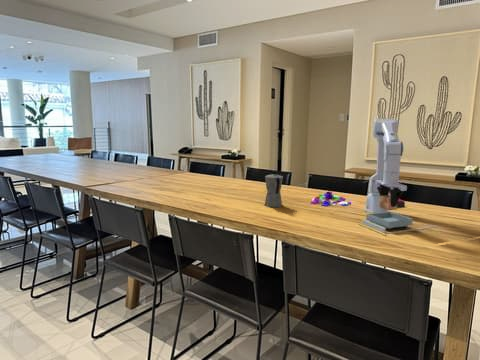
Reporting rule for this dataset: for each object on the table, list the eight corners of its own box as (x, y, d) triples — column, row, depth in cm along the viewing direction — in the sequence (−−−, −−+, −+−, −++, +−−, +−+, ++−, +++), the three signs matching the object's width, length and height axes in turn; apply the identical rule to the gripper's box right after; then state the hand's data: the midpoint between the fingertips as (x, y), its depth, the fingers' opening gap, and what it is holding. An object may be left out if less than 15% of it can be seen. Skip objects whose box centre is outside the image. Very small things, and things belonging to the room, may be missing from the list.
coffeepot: (261, 202, 182) (262, 169, 179) (278, 202, 184) (279, 168, 180) (268, 209, 167) (269, 173, 164) (287, 209, 169) (288, 173, 165)
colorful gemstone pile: (338, 210, 170) (338, 201, 169) (303, 203, 184) (303, 195, 183) (359, 201, 188) (360, 193, 187) (326, 196, 202) (326, 188, 201)
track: (358, 224, 144) (358, 218, 144) (408, 218, 154) (408, 212, 154) (386, 236, 130) (387, 229, 129) (440, 228, 140) (440, 222, 139)
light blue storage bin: (365, 223, 143) (366, 213, 143) (388, 220, 148) (389, 211, 147) (387, 232, 132) (388, 221, 131) (411, 228, 136) (412, 218, 136)
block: (379, 207, 141) (380, 195, 140) (388, 206, 142) (389, 195, 141) (387, 210, 137) (388, 198, 136) (396, 209, 138) (397, 197, 137)
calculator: (385, 201, 172) (370, 193, 187) (384, 209, 173) (369, 201, 188) (405, 200, 174) (388, 193, 188) (404, 208, 175) (388, 200, 189)
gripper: (370, 169, 142) (368, 201, 144) (397, 175, 129) (394, 210, 131) (384, 169, 145) (381, 200, 147) (412, 174, 131) (408, 208, 134)
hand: (388, 204), depth 139 cm, fingers closed on block, 4 cm apart
